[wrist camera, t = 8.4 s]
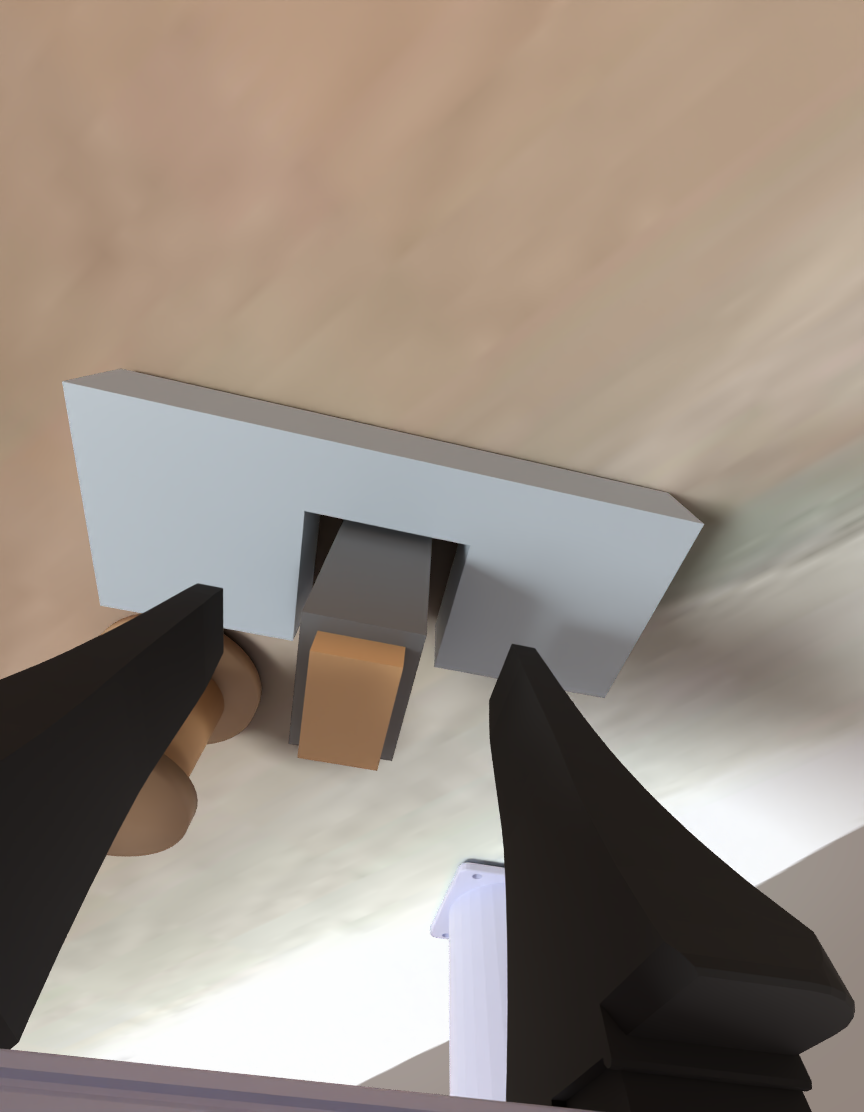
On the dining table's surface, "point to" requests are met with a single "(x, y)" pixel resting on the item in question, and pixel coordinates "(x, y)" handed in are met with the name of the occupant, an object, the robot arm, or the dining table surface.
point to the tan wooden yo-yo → (189, 755)
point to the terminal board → (367, 497)
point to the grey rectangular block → (360, 645)
